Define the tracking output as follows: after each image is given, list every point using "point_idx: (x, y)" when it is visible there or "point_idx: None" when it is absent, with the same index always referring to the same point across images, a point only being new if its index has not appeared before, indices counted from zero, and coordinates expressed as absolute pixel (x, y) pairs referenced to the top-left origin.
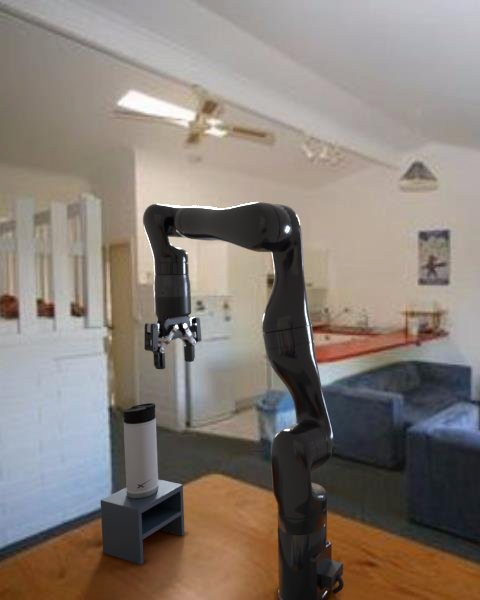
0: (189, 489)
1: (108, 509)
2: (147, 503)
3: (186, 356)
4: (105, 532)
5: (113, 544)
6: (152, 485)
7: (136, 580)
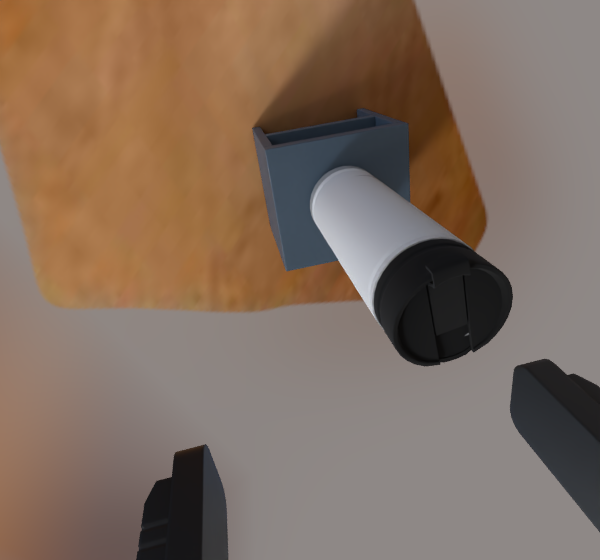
0: (131, 291)
1: None
2: (378, 133)
3: (220, 525)
4: None
5: None
6: (349, 171)
7: (397, 65)
